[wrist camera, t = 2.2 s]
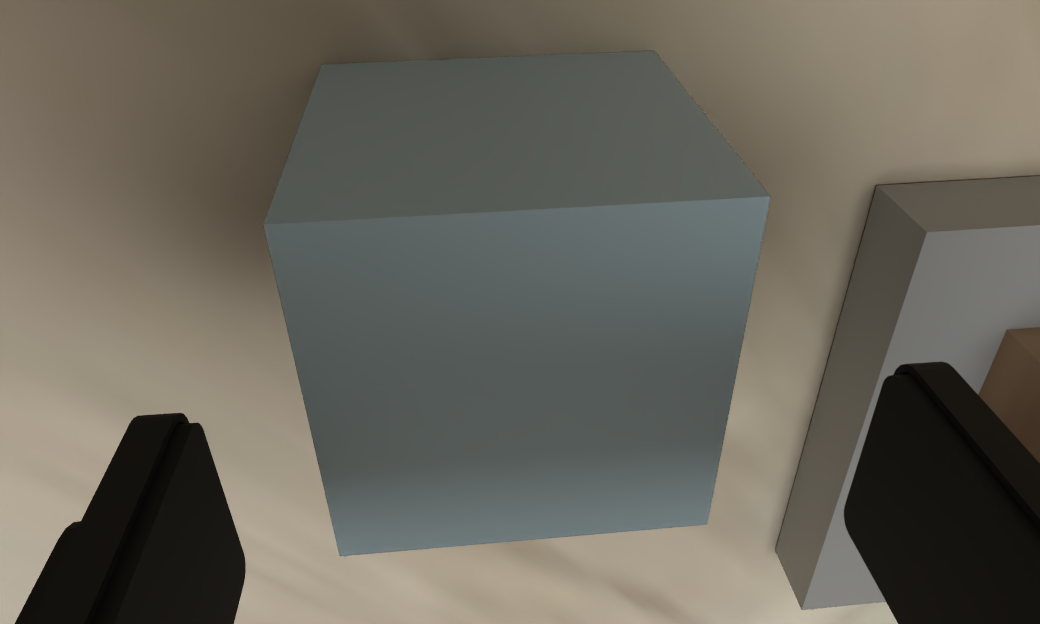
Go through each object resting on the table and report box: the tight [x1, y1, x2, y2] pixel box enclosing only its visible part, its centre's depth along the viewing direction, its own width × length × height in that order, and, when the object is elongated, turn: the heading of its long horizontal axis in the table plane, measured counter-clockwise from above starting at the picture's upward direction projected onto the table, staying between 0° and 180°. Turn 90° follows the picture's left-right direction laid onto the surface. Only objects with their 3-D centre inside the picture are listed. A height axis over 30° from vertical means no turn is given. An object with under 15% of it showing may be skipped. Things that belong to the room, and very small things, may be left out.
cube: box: [263, 51, 771, 556], centre depth 13 cm, size 6×6×6 cm
